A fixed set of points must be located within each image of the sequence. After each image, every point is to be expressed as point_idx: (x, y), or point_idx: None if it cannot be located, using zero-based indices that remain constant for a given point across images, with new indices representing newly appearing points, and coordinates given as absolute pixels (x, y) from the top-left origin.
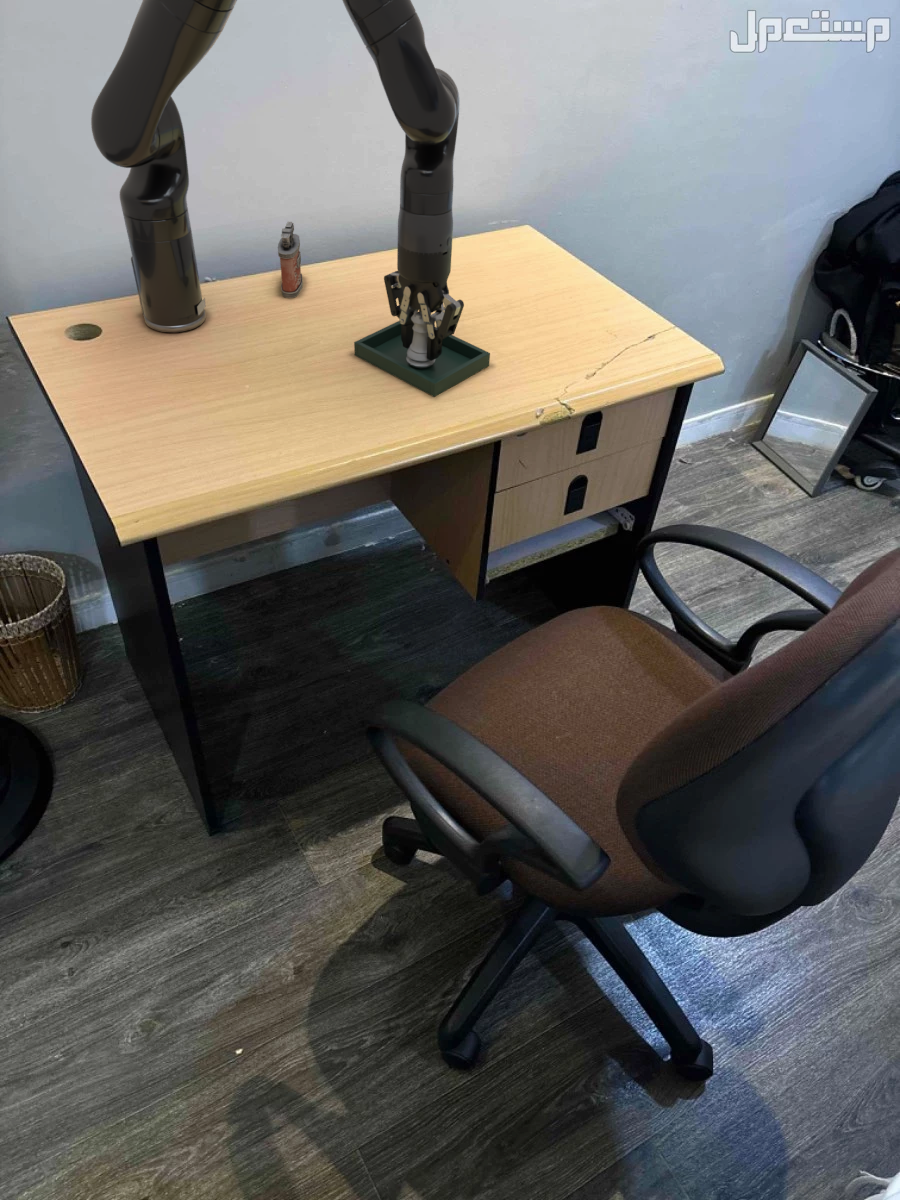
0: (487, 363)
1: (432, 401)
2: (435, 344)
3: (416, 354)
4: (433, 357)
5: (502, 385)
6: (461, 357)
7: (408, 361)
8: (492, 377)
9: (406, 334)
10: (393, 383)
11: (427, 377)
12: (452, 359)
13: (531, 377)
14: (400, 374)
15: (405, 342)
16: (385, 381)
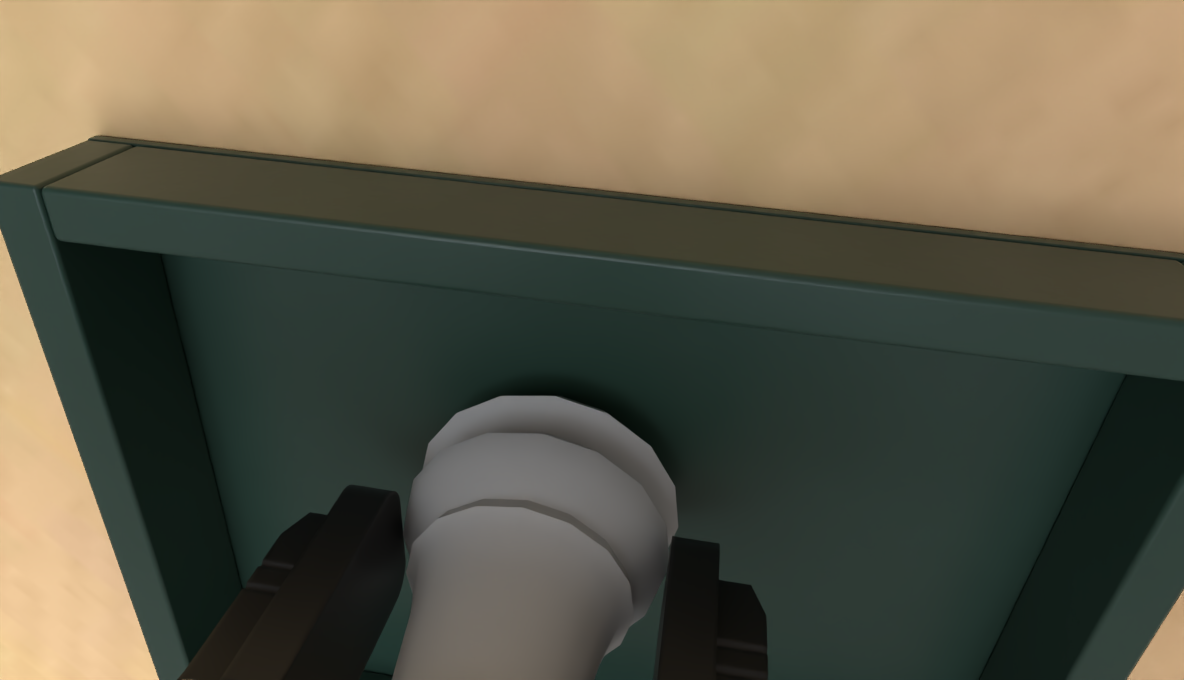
0: None
1: (45, 64)
2: (217, 637)
3: (486, 486)
4: (319, 518)
5: (11, 538)
6: None
7: (590, 414)
8: (120, 577)
9: (660, 666)
10: (519, 73)
11: (118, 230)
12: None
13: (15, 667)
14: (506, 199)
15: (675, 580)
16: (609, 46)
